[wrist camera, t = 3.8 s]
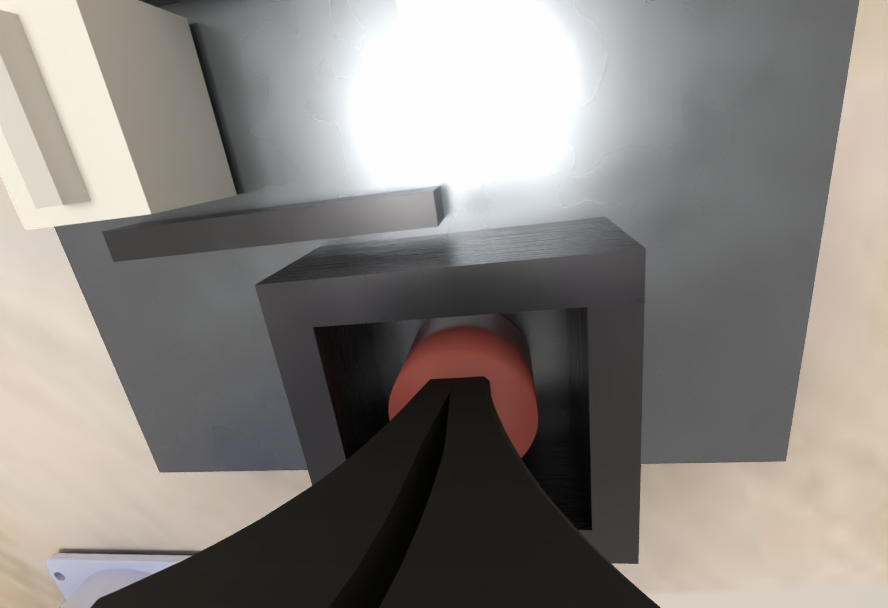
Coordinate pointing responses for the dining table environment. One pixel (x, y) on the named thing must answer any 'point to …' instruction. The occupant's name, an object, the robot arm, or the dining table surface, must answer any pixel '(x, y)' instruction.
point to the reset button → (475, 368)
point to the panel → (488, 230)
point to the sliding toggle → (103, 113)
